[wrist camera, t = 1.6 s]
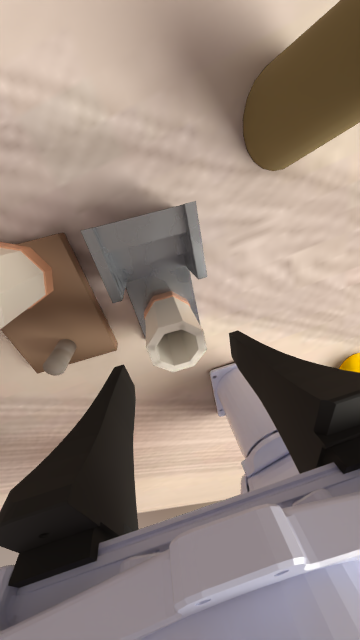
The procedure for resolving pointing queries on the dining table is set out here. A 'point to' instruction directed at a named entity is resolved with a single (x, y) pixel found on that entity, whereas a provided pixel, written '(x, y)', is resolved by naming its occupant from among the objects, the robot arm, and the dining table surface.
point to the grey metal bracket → (149, 256)
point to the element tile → (352, 363)
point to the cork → (306, 91)
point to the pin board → (61, 315)
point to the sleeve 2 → (173, 333)
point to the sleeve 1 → (21, 280)
